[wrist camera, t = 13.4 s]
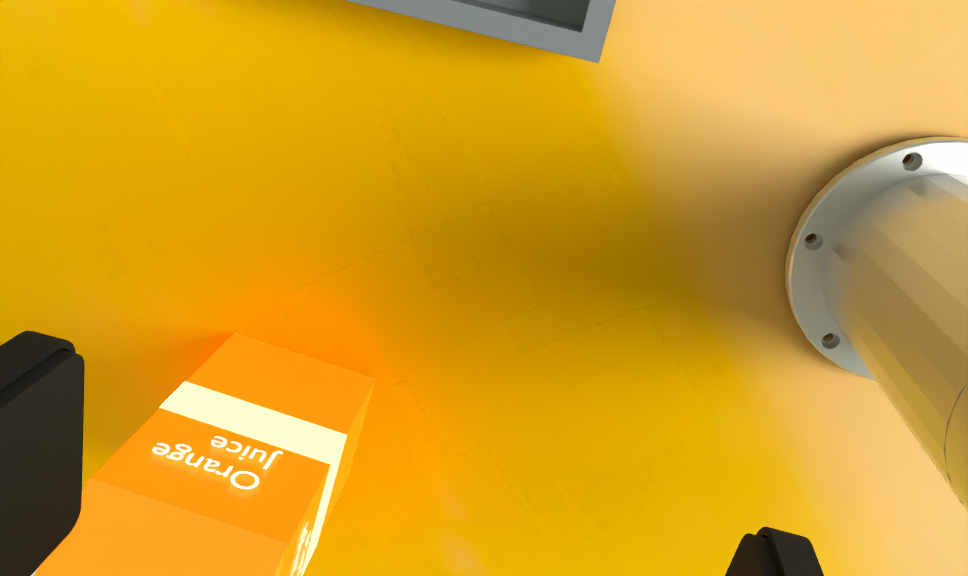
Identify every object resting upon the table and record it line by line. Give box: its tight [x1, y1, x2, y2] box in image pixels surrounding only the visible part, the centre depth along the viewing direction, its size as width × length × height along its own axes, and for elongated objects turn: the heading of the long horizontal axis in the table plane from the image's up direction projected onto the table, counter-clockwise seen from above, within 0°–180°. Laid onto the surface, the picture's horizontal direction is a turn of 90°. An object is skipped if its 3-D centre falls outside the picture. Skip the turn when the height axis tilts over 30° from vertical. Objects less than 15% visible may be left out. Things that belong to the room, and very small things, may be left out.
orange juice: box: [34, 332, 376, 576], centre depth 38 cm, size 8×9×20 cm
